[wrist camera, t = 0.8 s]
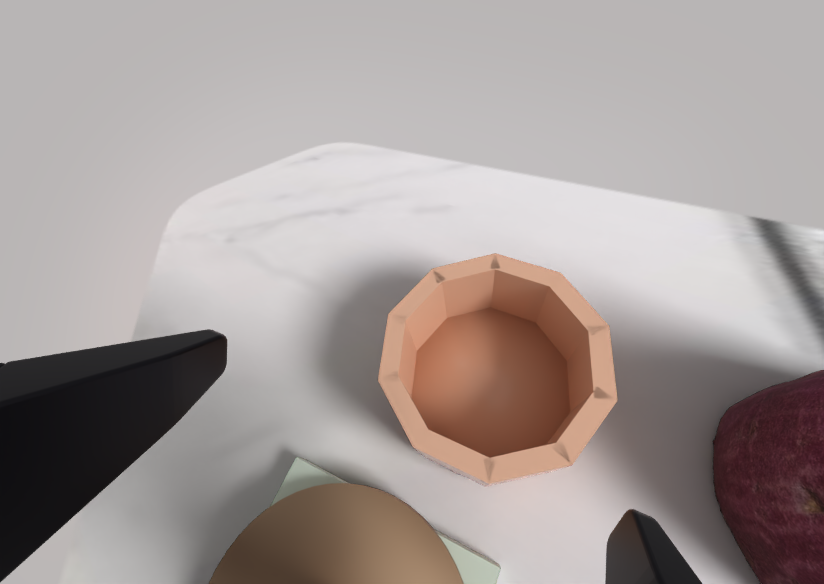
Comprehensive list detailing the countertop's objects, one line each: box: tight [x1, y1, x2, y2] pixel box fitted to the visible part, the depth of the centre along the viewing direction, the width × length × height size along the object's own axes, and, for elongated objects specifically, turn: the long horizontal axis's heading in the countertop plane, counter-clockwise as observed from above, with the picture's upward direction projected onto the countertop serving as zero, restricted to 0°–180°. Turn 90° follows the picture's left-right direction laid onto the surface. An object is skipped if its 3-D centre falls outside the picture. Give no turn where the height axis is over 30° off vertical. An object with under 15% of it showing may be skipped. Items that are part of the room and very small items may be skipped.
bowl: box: [378, 254, 617, 486], centre depth 18 cm, size 9×10×5 cm
